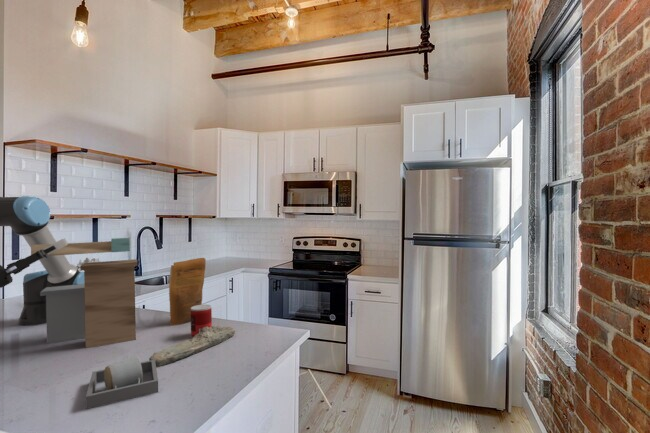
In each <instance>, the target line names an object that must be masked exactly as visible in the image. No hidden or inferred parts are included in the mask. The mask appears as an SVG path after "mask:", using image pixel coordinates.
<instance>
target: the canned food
mask: <svg viewBox="0 0 650 433" xmlns="http://www.w3.org/2000/svg"><path fill="white" fill-rule="evenodd" d="M212 311H213V310H212V305H211V304H202V305H197V306H193V307H191V322H190V334H191V337H192V338H193V337H194V336H195V335H196V334H199V333H200V332H201V331H202V328H204V327H206V326H207V327H208V328H209V327H213V324H212V323H213V321H212V320H213V318H212V317H213V315H212Z"/></svg>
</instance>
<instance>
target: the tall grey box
mask: <svg viewBox="0 0 650 433" xmlns="http://www.w3.org/2000/svg"><path fill="white" fill-rule="evenodd" d="M45 295H46V320H47V323H46V344H47V345H48V344H54V343H60V342H61V343H62V342H66V341H67V342H68V341H72V340H74V341H75V340H79V339H86V334H85V284H78V285H67V286H57V287H46V288H45V289H44V290H42V291H41V292H40V296H45Z"/></svg>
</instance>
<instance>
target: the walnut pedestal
mask: <svg viewBox="0 0 650 433" xmlns="http://www.w3.org/2000/svg"><path fill="white" fill-rule="evenodd" d="M135 267H138V259H136V258H135V259H134V258H133V259H124V260H123V259H122V260H120V259H119V260H107V261H106V260H105V261H100V262H90V263H84V264H82V265H81V266H80V268H79V269H81V270H82V271H83V270H84V271H83V272H84V283H85V334H86V338H85V348H86V349H89V348H94V347H99V346H101V347H102V346H105V345H111V344H118V343H124V342H130V341H135V340H137V335H136V334H137V331H136V329H137V327H136V325H137V324H136V321H137V320H136V285H135V284H136V279H135V278H136V275H135V269H136V268H135Z"/></svg>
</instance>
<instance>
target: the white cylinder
mask: <svg viewBox="0 0 650 433" xmlns="http://www.w3.org/2000/svg"><path fill="white" fill-rule="evenodd" d="M141 362H142V361H141V360H140V358H139V356H138V355H133V356H130V357H127V358H125V359H122V360H119V361H116V362H113V363H111V364H108V365H107V366H106V367H104V369H103V370H104V381H103V382H104V385H105V388H106V391H107V390H111V389H116V388H120V387H125V386H129V385H134V384H138V383H143V376H144V375H143V374H144V373H142V366H141Z"/></svg>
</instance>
